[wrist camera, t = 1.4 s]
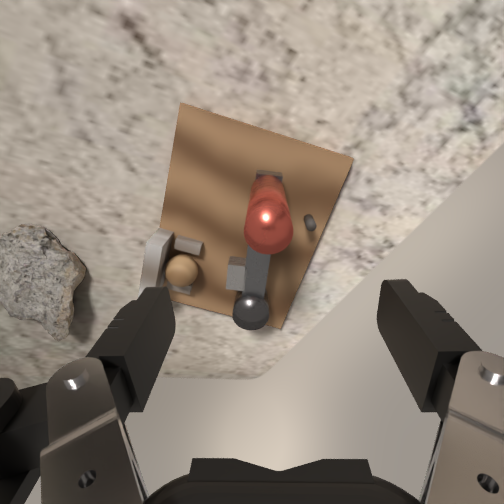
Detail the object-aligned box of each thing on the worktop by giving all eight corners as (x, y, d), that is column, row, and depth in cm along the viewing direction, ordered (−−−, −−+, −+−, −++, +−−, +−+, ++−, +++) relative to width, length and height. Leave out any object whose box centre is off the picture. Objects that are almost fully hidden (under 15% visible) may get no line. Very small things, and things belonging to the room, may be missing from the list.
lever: (266, 316, 35) (266, 406, 24) (225, 311, 35) (207, 400, 24) (290, 173, 28) (306, 212, 17) (237, 167, 28) (220, 202, 17)
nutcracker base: (183, 103, 28) (167, 101, 23) (350, 157, 30) (367, 165, 25) (151, 289, 37) (135, 314, 33) (280, 322, 39) (282, 351, 34)
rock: (35, 225, 30) (91, 343, 35) (66, 214, 34) (113, 322, 39) (-55, 241, 34) (8, 346, 39) (-17, 229, 38) (36, 326, 43)
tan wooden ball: (172, 245, 33) (163, 260, 30) (203, 254, 34) (197, 269, 30) (167, 271, 35) (157, 288, 32) (197, 279, 35) (190, 297, 32)
